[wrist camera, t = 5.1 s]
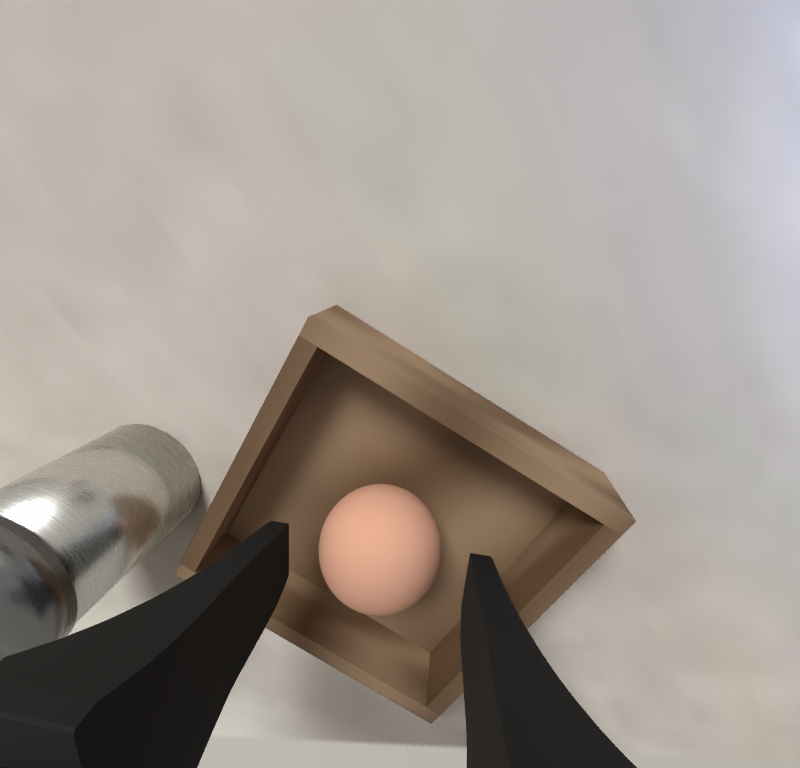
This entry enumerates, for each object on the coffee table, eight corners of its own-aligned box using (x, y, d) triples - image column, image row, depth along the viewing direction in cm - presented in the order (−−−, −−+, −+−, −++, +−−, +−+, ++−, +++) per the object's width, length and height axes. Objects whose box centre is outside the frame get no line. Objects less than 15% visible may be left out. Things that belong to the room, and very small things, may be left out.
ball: (448, 470, 15) (449, 546, 11) (434, 561, 16) (431, 658, 12) (339, 455, 15) (302, 524, 11) (333, 545, 16) (299, 635, 13)
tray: (603, 472, 15) (635, 521, 12) (435, 655, 18) (431, 723, 16) (336, 305, 14) (308, 316, 11) (216, 526, 18) (174, 574, 15)
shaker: (220, 462, 17) (63, 599, 10) (179, 542, 18) (21, 707, 12) (115, 399, 17) (-115, 498, 10) (83, 486, 18) (-134, 621, 11)
